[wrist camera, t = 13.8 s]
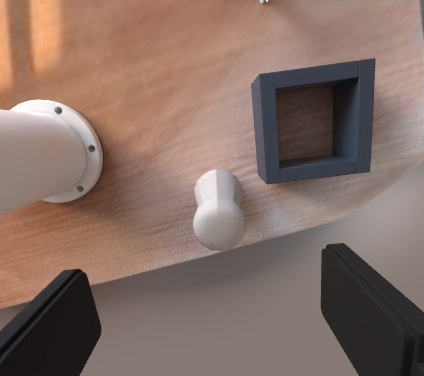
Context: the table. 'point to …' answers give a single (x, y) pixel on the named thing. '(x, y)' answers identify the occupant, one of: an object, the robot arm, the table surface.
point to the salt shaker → (219, 210)
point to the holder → (342, 120)
